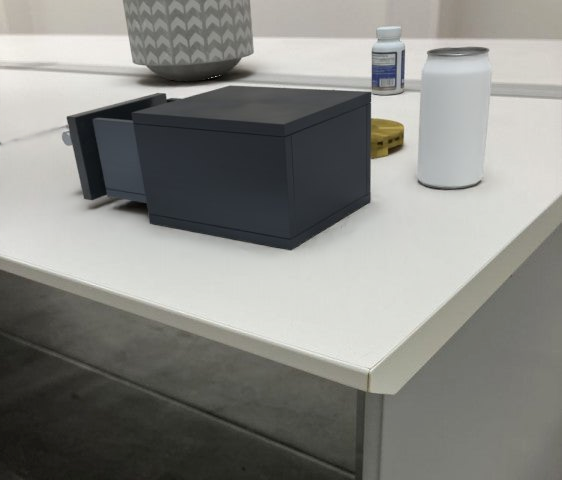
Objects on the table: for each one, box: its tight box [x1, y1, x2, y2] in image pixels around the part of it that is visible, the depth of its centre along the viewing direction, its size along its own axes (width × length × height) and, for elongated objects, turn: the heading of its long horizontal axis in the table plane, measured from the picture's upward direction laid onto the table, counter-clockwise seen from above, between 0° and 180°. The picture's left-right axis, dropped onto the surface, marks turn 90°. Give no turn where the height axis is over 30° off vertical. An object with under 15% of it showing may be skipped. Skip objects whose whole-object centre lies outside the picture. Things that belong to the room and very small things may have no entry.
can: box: [416, 46, 493, 190], centre depth 66 cm, size 6×6×12 cm
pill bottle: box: [371, 25, 406, 96], centre depth 111 cm, size 5×5×10 cm
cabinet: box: [131, 85, 372, 251], centre depth 62 cm, size 16×14×10 cm
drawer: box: [61, 92, 183, 204], centre depth 68 cm, size 20×13×8 cm, turn 56°
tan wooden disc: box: [371, 117, 405, 159], centre depth 83 cm, size 12×12×2 cm
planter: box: [122, 0, 255, 82], centre depth 137 cm, size 25×25×24 cm
